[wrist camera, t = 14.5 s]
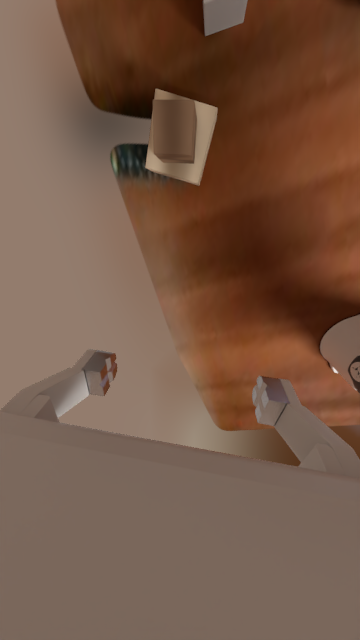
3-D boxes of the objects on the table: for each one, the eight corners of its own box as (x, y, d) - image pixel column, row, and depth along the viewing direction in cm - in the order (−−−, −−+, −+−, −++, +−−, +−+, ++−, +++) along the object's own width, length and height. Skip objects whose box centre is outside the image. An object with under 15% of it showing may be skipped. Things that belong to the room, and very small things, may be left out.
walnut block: (197, 119, 28) (194, 99, 23) (194, 163, 30) (191, 154, 25) (162, 119, 28) (152, 99, 23) (162, 162, 31) (153, 153, 26)
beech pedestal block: (216, 118, 31) (217, 107, 27) (199, 186, 35) (198, 183, 32) (161, 101, 30) (155, 88, 27) (151, 171, 35) (145, 167, 32)
